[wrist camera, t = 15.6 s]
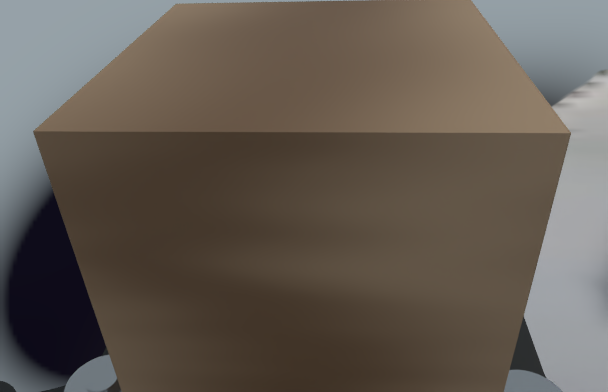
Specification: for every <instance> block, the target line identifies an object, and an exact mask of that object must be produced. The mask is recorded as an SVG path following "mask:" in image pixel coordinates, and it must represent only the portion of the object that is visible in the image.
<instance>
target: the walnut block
mask: <svg viewBox="0 0 608 392" xmlns="http://www.w3.org/2000/svg"><path fill="white" fill-rule="evenodd" d="M33 132H34V135H35V138H36V141H37V144H38V147H39V150H40V153H41V156H42V159H43V162H44V165H45V168H46V171H47V174H48V176H49V179H50V182H51V185H52V188H53V191H54V194H55V197H56V200H57V203H58V206H59V209H60V212H61V214H62V218H63V220H64V223H65V226H66V229H67V232H68V235H69V238H70V241H71V244H72V247H73V250H74V253H75V255H76V259H77V262H78V264H79V267H80V270H81V273H82V276H83V279H84V282H85V285H86V288H87V291H88V294H89V297H90V300H91V303H92V306H93V309H94V312H95V315H96V317H97V320H98V323H99V326H100V329H101V332H102V335H103V338H104V341H105V344H106V347H107V350H108V353H109V356H110V359H111V362H112V364H113V367H114V370H115V373H116V376H117V379H118V382H119V385H120V388H121V391H122V392H504V389H505V385H506V381H507V377H508V374H509V370H510V366H511V362H512V358H513V354H514V350H515V347H516V343H517V339H518V335H519V331H520V327H521V324H522V320H523V316H524V312H525V308H526V304H527V300H528V297H529V293H530V289H531V285H532V281H533V277H534V274H535V270H536V266H537V262H538V258H539V254H540V250H541V247H542V243H543V239H544V235H545V231H546V227H547V224H548V220H549V216H550V212H551V208H552V204H553V200H554V197H555V193H556V189H557V185H558V181H559V177H560V173H561V170H562V166H563V162H564V158H565V154H566V150H567V147H568V143H569V139H570V135H571V132H570V131H569V130H568V128H567V127H566V126H565V124H564V123H563V122H562V121H561V119H560V118H559V117H558V115H557V114H556V113H555V111H554V110H553V109H552V107H551V106H550V105H549V103H548V102H547V101H546V99H545V98H544V97H543V95H542V94H541V93H540V91H539V90H538V89H537V87H536V86H535V85H534V83H533V82H532V81H531V79H530V78H529V77H528V75H527V74H526V73H525V71H524V70H523V69H522V67H521V66H520V65H519V63H518V62H517V61H516V59H515V58H514V57H513V55H512V54H511V53H510V52H509V50H508V49H507V47H506V46H505V45H504V43H503V42H502V41H501V40H500V38H499V37H498V35H497V34H496V33H495V32H494V30H493V29H492V28H491V26H490V25H489V24H488V22H487V21H486V20H485V18H484V17H483V16H482V14H481V13H480V12H479V10H478V9H477V8H476V6H475V5H474V4H473V2H472V1H471V0H371V1H370V0H369V1H315V2H314V1H313V2H256V3H255V2H254V3H198V4H197V3H196V4H195V3H194V4H175V5H174V6H173V7H172V8H171V9H170V10H169V11H168V12H167V13H166V14H164V15H163V16H162V17H161V18H160V19H159V20H157V21H156V22H155V23H154V24H153V25H152V26H151V27H150V28H148V29H147V30H146V31H145V32H144V33H143V34H142V35H141V36H140V37H138V38H137V39H136V40H135V41H134V42H133V43H132V44H131V45H129V46H128V47H127V48H126V49H125V50H124V51H123V52H122V53H121V54H119V56H118V57H116V58H115V59H114V60H113V61H111V62H110V63H109V64H108V65H107V66H106V67H105V68H104V69H102V70H101V71H100V72H99V73H98V74H97V75H96V76H95V77H94V78H92V79H91V80H90V81H89V82H88V83H87V84H86V85H85V86H84V87H82V88H81V89H80V90H79V91H78V92H77V93H76V94H74V96H72V97H71V98H70V99H69V100H68V101H67V102H65V103H64V104H63V105H62V106H61V107H60V108H59V109H58V110H57V111H55V112H54V113H53V114H52V115H51V116H50V117H49V118H48V119H46V120H45V121H44V122H43V123H42V124H41V125H40V126H39V127H38V128H36V129H35V130H34V131H33Z"/></svg>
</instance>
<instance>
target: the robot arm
mask: <svg viewBox="0 0 608 392" xmlns="http://www.w3.org/2000/svg"><path fill="white" fill-rule="evenodd" d="M0 392H16V391H15V389H14V388H13V387H12V386H11V385H10V384H8V383H6V382H3V381H0ZM42 392H122V391H121V388H120V385H119V382H118V379H117V376H116V373H115V370H114V367H113V364H112V362H111V359H110V356H109V353H108V350H107V347H106V349H105V351H104V353H103V355H102V356H101V357H98V358H96V359H93V360H91V361H89V362H87V363H86V364H84V365H83V366H81V367H80V368H79V369H78V370H77V371H76V372H75V373H74V374H73V375H72V376H71V377H70V379H69V381H68V382H67V384H66V385H65V386H62V387H58V388H55V389H51V390H46V391H42ZM504 392H562V391H561V390H560V389H559V387H557V386H556V385H555V384H554V383H553V382H551V381H550V380H548V379H547V378H546V376H545V374H544V372H543V369H542V366H541V364H540V361H539V358H538V355H537V352H536V350H535V347H534V344H533V341H532V339H531V336H530V333H529V330H528V327H527V325H526V322H525V319H524V316H523V320H522V324H521V327H520V331H519V335H518V339H517V343H516V347H515V350H514V354H513V358H512V362H511V366H510V370H509V374H508V377H507V381H506V385H505V389H504Z"/></svg>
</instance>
